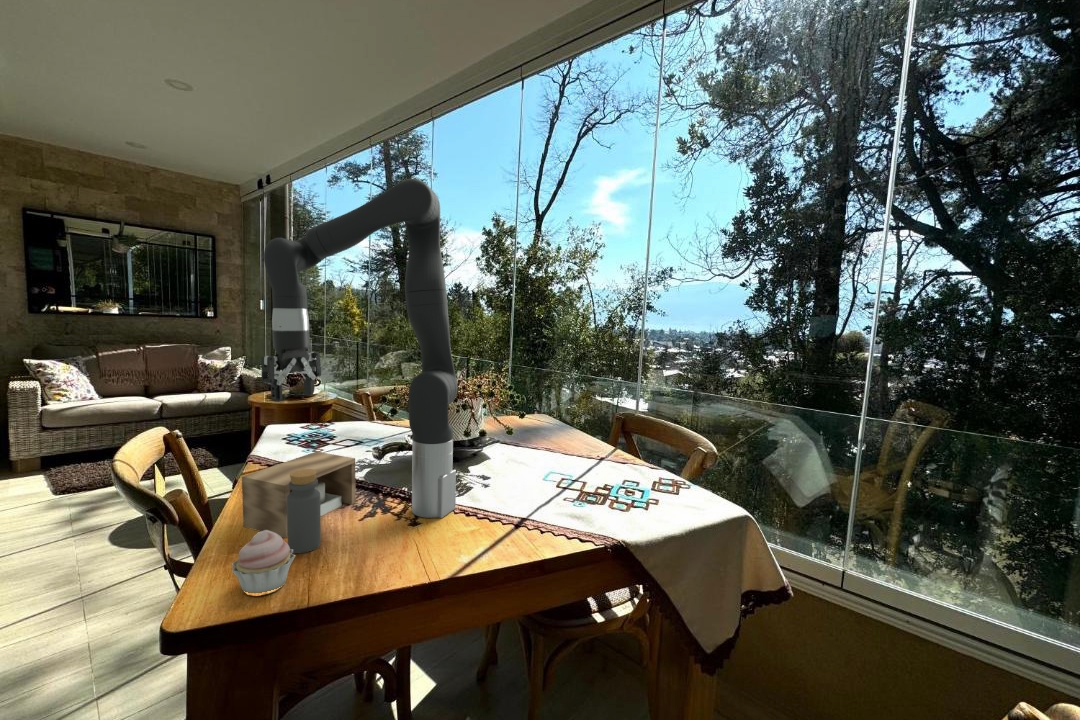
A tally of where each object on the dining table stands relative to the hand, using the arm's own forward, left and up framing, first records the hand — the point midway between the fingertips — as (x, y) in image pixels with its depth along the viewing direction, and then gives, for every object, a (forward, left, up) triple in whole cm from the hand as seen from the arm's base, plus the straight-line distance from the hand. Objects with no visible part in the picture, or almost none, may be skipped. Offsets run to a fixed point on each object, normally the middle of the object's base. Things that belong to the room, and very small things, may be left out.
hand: (293, 398), depth 112 cm
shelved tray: (-6, +4, -26) cm, 27 cm away
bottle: (-18, +15, -26) cm, 35 cm away
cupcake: (-23, +28, -26) cm, 44 cm away
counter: (-6, +4, -26) cm, 26 cm away
